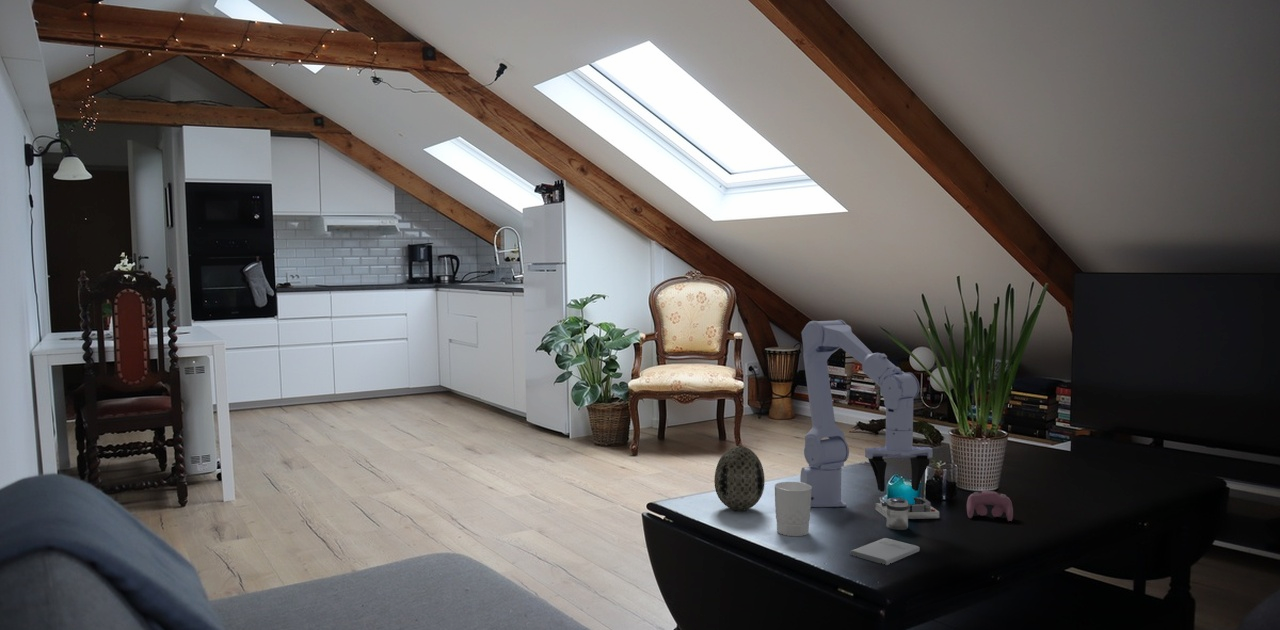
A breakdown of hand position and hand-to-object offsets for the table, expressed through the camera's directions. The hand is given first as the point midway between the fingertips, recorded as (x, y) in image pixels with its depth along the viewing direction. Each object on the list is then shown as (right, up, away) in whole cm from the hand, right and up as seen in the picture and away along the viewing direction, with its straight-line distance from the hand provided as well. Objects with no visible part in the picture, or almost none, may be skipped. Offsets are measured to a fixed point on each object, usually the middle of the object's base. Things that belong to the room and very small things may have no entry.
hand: (898, 490), depth 196 cm
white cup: (-24, -9, -4) cm, 25 cm away
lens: (0, -8, +1) cm, 8 cm away
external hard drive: (-8, -10, -17) cm, 21 cm away
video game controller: (+23, -8, +8) cm, 26 cm away
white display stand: (+5, -8, +11) cm, 14 cm away
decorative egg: (-33, -7, +14) cm, 37 cm away
